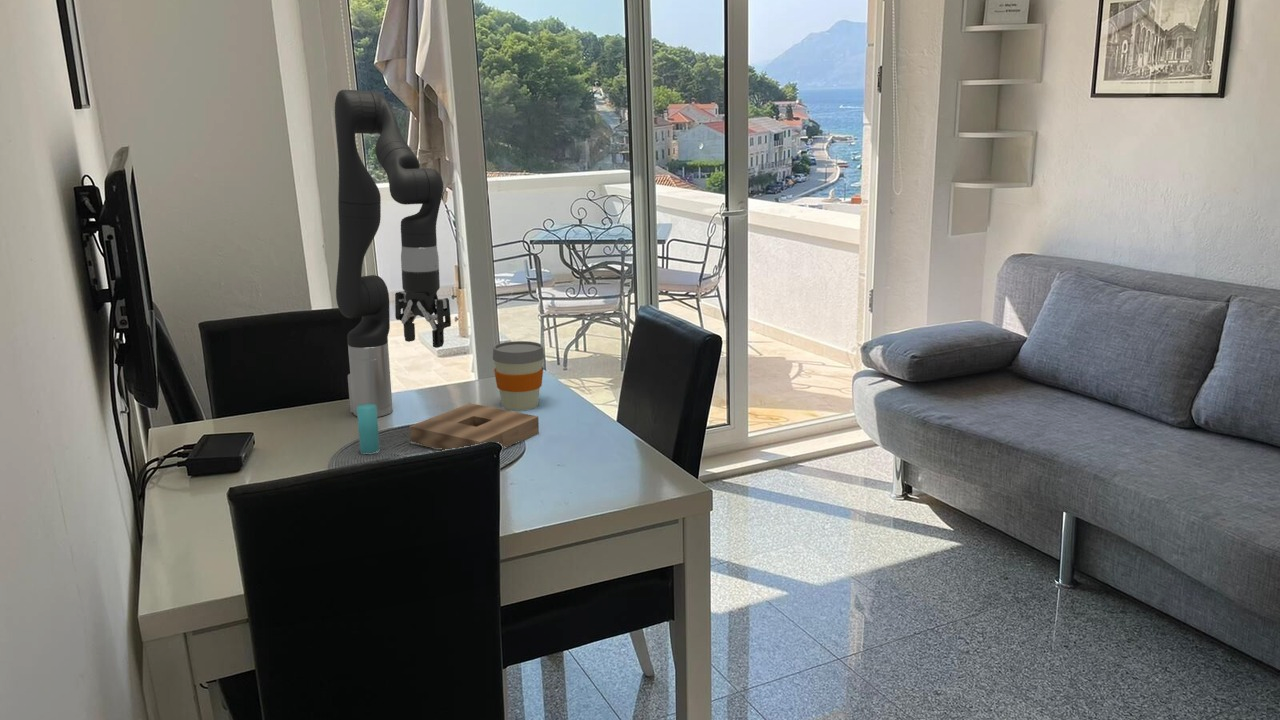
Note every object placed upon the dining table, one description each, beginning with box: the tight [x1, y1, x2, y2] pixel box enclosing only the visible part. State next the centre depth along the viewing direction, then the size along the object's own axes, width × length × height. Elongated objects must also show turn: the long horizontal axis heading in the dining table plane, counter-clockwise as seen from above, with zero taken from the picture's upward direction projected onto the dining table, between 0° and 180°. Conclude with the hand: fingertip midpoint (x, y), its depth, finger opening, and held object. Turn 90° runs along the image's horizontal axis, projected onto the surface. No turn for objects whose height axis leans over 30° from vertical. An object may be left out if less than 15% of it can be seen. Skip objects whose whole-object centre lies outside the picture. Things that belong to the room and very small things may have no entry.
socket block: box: [409, 402, 540, 451], centre depth 205 cm, size 20×20×4 cm
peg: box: [356, 404, 381, 453], centre depth 196 cm, size 4×4×10 cm
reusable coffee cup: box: [492, 340, 545, 412], centre depth 228 cm, size 13×13×15 cm
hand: (423, 343), depth 194 cm, fingers open, 8 cm apart
